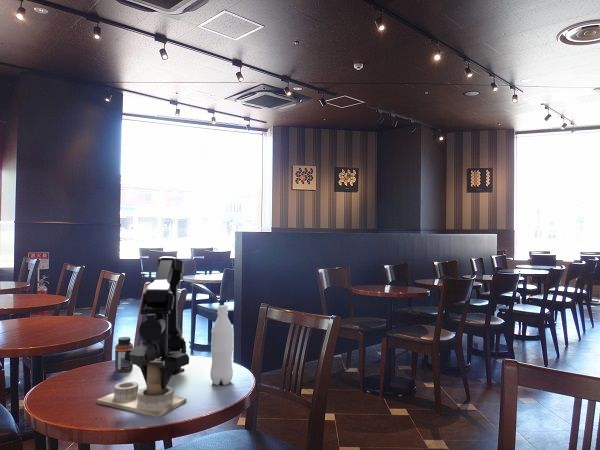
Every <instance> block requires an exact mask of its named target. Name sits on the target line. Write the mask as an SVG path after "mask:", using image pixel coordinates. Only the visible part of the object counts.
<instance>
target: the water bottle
mask: <svg viewBox="0 0 600 450" xmlns="http://www.w3.org/2000/svg"><path fill="white" fill-rule="evenodd" d="M228 311H229V309H228V305H225V304H224V305H223V304H221V305H218V307H217V312H216V313H217V317H216V320H215V321H214V323H213V326H212V328H211V331H210V332H211V342H210V344H211V347H210V351H211V352H210V354H211V367H210V372H209V373H210V375H209V376H210V380H211V382H212V384H214V385H215V386H219V385H220V383H222V385H223V386H227V385H228V384H229V383H230V382H231V381H232V379H233V372H234V370H233V363H232V362H233V361H232V360H233V359H232V358H233V351H234V327H233V324H232V323H231V321H230V319H229V315H228V314H229V312H228Z"/></svg>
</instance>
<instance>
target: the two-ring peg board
mask: <svg viewBox="0 0 600 450" xmlns="http://www.w3.org/2000/svg"><path fill="white" fill-rule="evenodd" d="M113 390H114V391H113V392H112V393H110V394H108V395H105V396H102V397H100V398H98V399H96V404H99V405H103V406H108V407H112V408H116V409H121V410H124V411H129V412H133V413H137V414H138V413H139V414H142V415H147V416H151V417H155V418H159V417H161V416H163V415H164V414H166V413H168V412H170V411H172V410H174V409H176V408H178V407H180V406H182V405H183V404H185V403H187V397H182V396H177V395H175V394H174V393H175V392H174V390H175V389H174V388H173V387H172V386H169V385H167V386H166V388H165V394H163V395H158V396H148V395H147V386H146V387H144V388H139V383H138V382H137V381H123V382H119V383H116V384H115V385H114V388H113Z"/></svg>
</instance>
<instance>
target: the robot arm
mask: <svg viewBox="0 0 600 450" xmlns="http://www.w3.org/2000/svg"><path fill="white" fill-rule="evenodd" d="M155 271H156V274H155V278H154V280H153V282H151V283H149V284H148V285H147V287H146V289H145V291H144V292H143V294H142V299H141V307H140V312H139V313H140V315H145V319H144V321H143V322H142V323H140V325H139V328H138V329H139V331H138V333H139V335H140V337H141V338H142V342H141V344H139V345H138V346H136V347H133V348H132V349H129V350H127V351H126V353H125V360H126V361H131V362H132V364H133V366H134V365H135V366H137V367H138V368H139V369H140V370H141V373H142V376H143V380H144V382H145V385H146V386H147V364H148V362H150V361H155V360H156V361H162V362H164V363H163V366H161V367H158V368H159V369H160V371H161V386H162V390H163V389H165V388H166V386H168V384H169V382H170V379H171V378H172V376H174V375H176V374H179V373H180V372H183V371H185V368H182V367H184V366H187V365H189V364H190V356H189V354H187V343H186V341H185V337H184V336H183V331H182V329H181V327H180V326H179V324H178V321H179V320H178V317H179V316H178V315H179V314H178V309H179V308H178V305H179V304H178V303H179V302H178V299H179V298H178V293H179V292H178V291H179V290H178V287H179V283H180V282H181V280H182V278H183V274H184V273H185V263H184V261H183V260H181V259H177V258H176V257H174V256H161V257H159V258H158V260H156V269H155Z"/></svg>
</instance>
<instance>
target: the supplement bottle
mask: <svg viewBox="0 0 600 450" xmlns="http://www.w3.org/2000/svg"><path fill="white" fill-rule="evenodd" d="M132 348H134V344H133V343H132V342H131V337H130V336H122V337H121V336H120V337H118V340H117V344H116V345H115V346H114V349H115V350H114V370H115V371H116V372H117V373H127V372H130V371H132V370H133V368H134V367H133V366H134V365H133V364H132V362H131V361H126V360H125V353H126V351H127V350H129V349H132Z"/></svg>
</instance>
